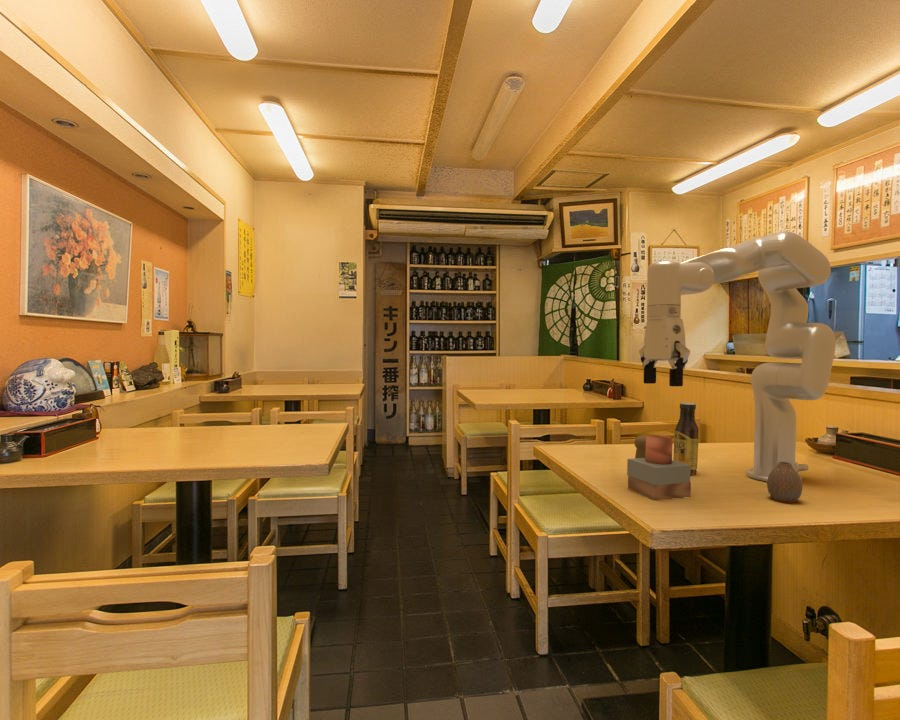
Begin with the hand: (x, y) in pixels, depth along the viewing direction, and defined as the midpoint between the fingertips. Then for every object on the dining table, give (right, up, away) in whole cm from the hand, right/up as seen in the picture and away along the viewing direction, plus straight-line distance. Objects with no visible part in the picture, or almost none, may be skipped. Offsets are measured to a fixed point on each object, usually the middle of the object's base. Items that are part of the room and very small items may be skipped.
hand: (662, 384), depth 121 cm
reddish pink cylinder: (-1, -19, +1) cm, 19 cm away
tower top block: (-1, -23, 0) cm, 23 cm away
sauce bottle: (+15, -26, +21) cm, 37 cm away
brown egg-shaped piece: (+27, -27, -4) cm, 38 cm away
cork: (+2, -26, +16) cm, 31 cm away
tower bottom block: (-1, -27, +1) cm, 27 cm away
